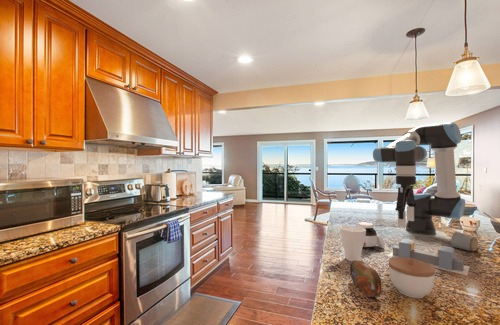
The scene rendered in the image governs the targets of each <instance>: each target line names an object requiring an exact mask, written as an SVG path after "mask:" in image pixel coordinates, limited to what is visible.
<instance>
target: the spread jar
mask: <svg viewBox="0 0 500 325" xmlns="http://www.w3.org/2000/svg"><path fill="white" fill-rule="evenodd" d="M357 226H358V227H362V228H365V229H366V235H365V240H364V245H363V248H362V250H363V249H364V250H372V249H374V248H376V247H378V248H380V249H382V248H385V246H386V245H385V242H384V240H383V237H382V236H381V235H380V234H379V233H377V231H376V230H375V229H374V224H373V223H371V222H365V221H363V222H362V221H361V222H360V221H359V222H358V223H357Z"/></svg>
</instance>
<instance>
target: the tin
mask: <svg viewBox="0 0 500 325" xmlns="http://www.w3.org/2000/svg"><path fill="white" fill-rule="evenodd" d="M349 272H350V278H351V280H352V283H353V284H354V286H355V287H356V288H358V290H360V291H361V292H362V293H363V294H364V295H365V296H366V297H367V298H378V297H380V296H381V294H382V284H383V283H382V279H381V276H380V274H379V273H378V271H377V270H376V269H374V268H373V267H372V266H370V265H368V264H367V263H366V262H364V261H362V260H360V261H356V260H354V261H351V263H350V267H349Z"/></svg>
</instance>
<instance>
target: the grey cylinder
mask: <svg viewBox="0 0 500 325" xmlns="http://www.w3.org/2000/svg"><path fill="white" fill-rule="evenodd" d="M450 242H451V246H452V248H455V249H460V250H463V251H468V252H475V251H476V250H477V249H478V244H479V241H478V239H477V237H475V236H474V235H473V236H472V235H470V234H466V233H462V232H459V231H454V232H453V233H452V235H451V240H450Z"/></svg>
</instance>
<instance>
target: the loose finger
mask: <svg viewBox="0 0 500 325" xmlns="http://www.w3.org/2000/svg"><path fill="white" fill-rule="evenodd" d="M415 243H416V242H415V240H413V239H409V238H402V239H401V240H400V241H398V246H399V257H405V258H410V251H412V250H416V249H415V248H416V247H415Z"/></svg>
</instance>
